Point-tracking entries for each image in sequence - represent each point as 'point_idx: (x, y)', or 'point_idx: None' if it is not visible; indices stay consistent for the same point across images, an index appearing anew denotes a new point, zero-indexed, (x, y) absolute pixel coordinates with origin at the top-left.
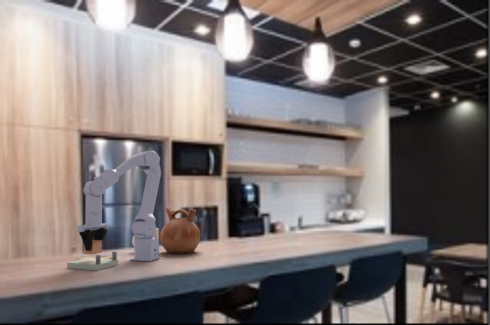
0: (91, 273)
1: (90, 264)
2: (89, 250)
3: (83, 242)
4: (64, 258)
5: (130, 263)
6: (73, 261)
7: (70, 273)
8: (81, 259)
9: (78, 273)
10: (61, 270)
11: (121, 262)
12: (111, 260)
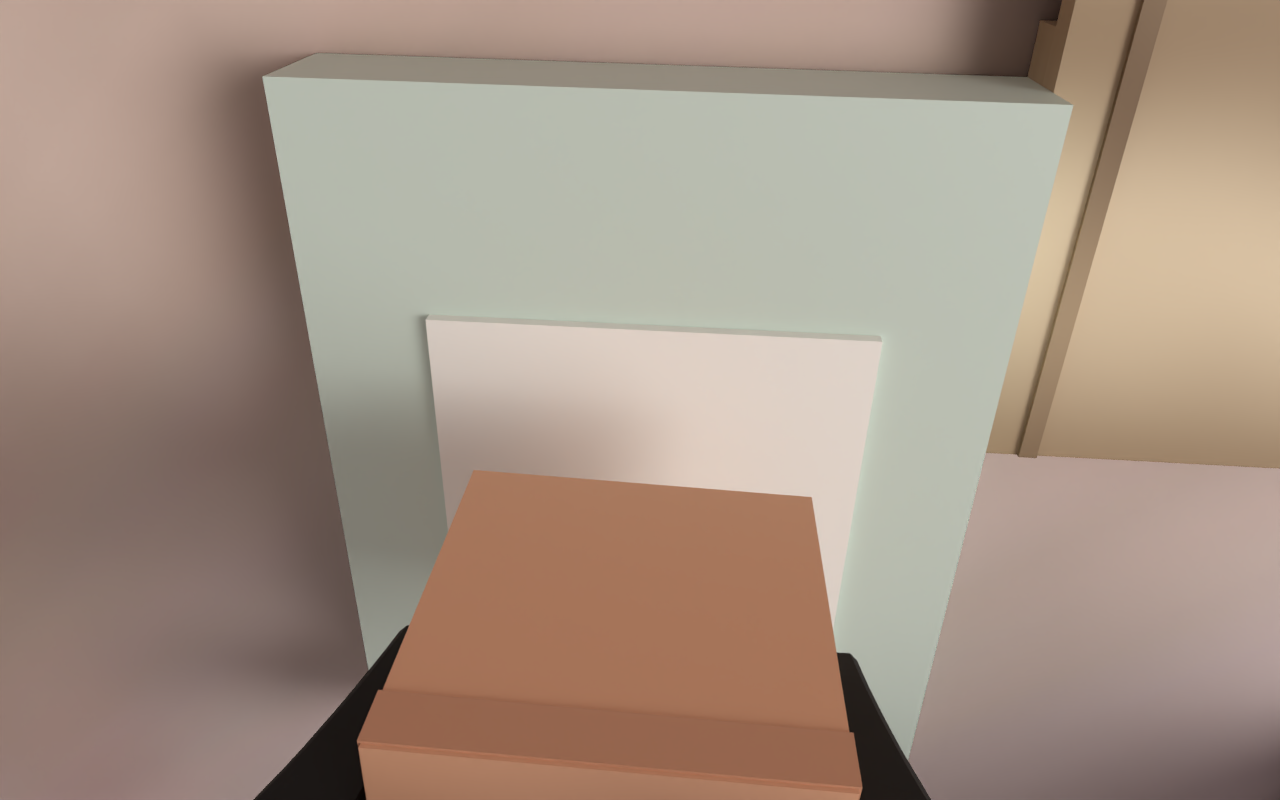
0: (212, 707)
1: (363, 631)
2: None
3: (369, 712)
4: None
5: (1043, 797)
6: (445, 120)
7: (37, 465)
8: (768, 108)
9: (111, 567)
10: (95, 121)
11: (1137, 655)
12: None
